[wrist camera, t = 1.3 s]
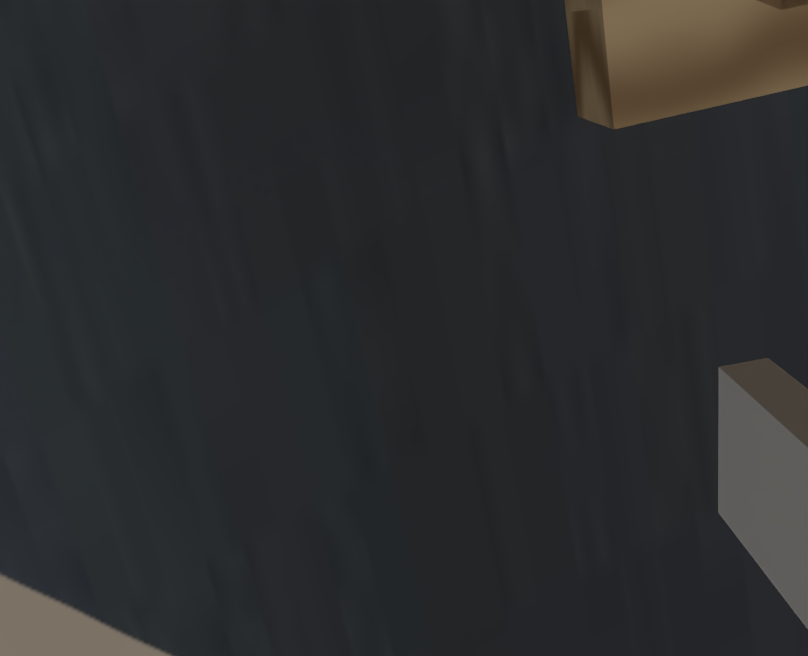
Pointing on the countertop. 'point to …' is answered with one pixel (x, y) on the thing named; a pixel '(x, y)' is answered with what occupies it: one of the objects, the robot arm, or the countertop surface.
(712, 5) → the block
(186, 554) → the countertop surface
